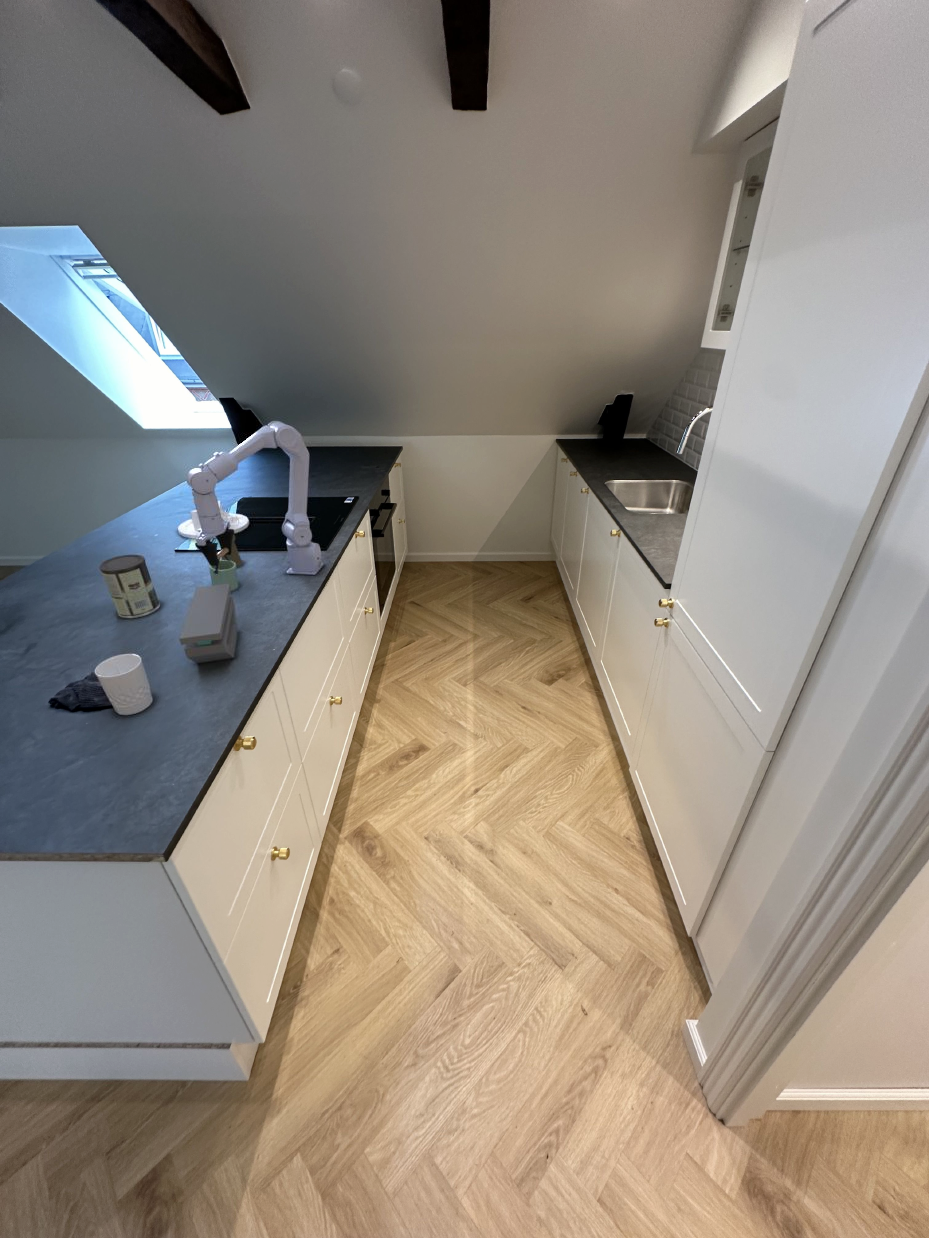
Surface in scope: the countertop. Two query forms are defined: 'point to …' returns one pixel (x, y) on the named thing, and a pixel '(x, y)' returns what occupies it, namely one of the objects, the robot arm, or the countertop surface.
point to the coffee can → (130, 585)
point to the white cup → (125, 683)
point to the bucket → (224, 571)
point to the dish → (236, 520)
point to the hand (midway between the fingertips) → (221, 559)
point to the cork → (234, 554)
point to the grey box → (210, 625)
